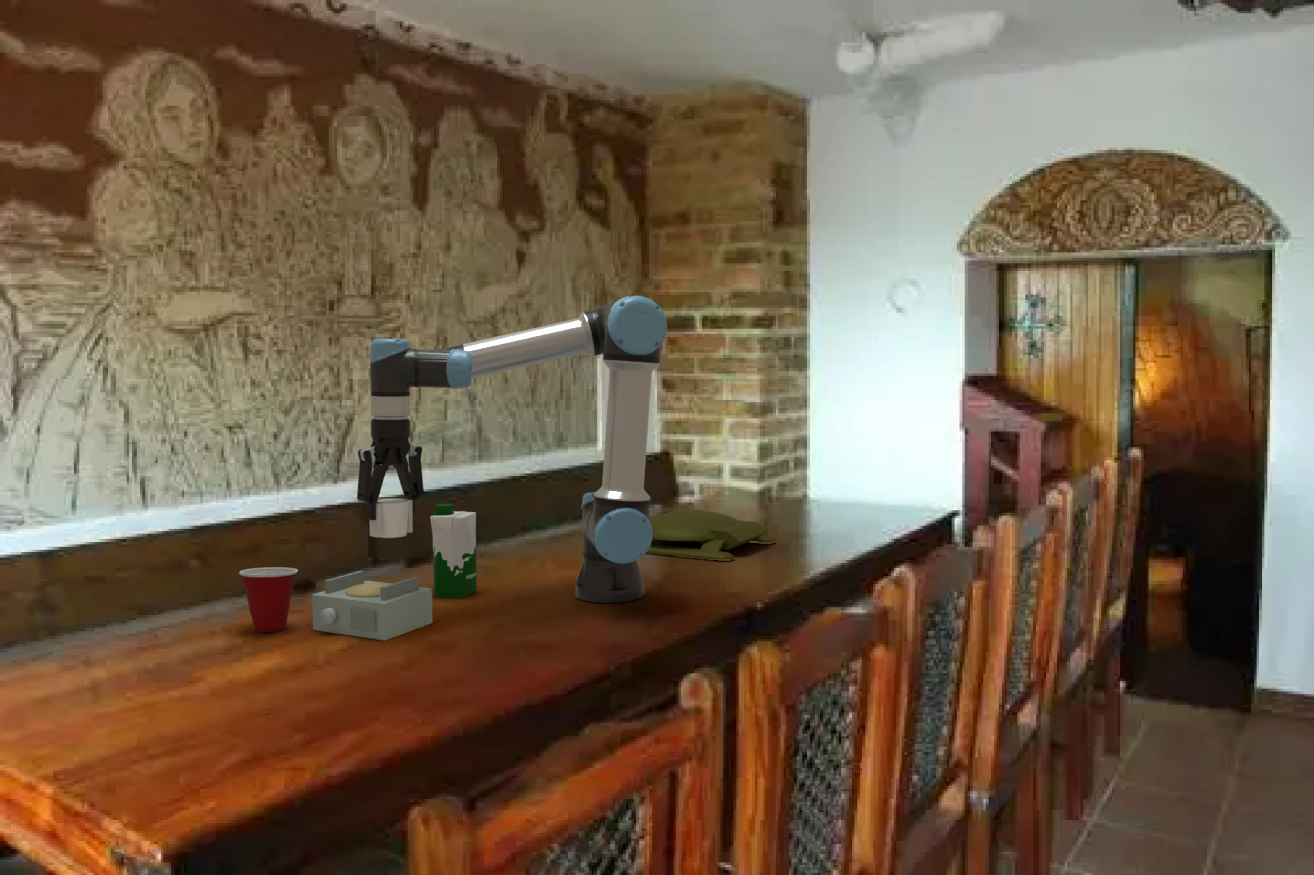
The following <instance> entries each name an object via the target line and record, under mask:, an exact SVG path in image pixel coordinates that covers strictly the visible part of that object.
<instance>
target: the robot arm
mask: <svg viewBox="0 0 1314 875" xmlns="http://www.w3.org/2000/svg"><path fill="white" fill-rule="evenodd" d="M667 331H668V322H667V318H666V314H665V313H664V311H663V310H662V308H661V307H660V306H659V305H658V303H656V302H655V301H654V300H652V299H650V298H648V297H645V296H641V295H628V296H625V297H621V298H619V299H616V300H613V301H612V302H610V303H607V304H605V305H602V306H599V307H598V308H595V309H591V310H587V311H582V312H581V313H580V314H579V316H578V317H577V318H573V319H567V320H564V321H560V322H556V323H550V324H546V325H542V326H537V327H534V328H529V329H525V330H520V331H516V332H511V333H506V334H501V335H498V336H493V337H488V338H484V339H480V340H475V341H472V342H466V343H463V344H458V345H453V346H450V347H444V348H437V349H419V348H417V349H415V348H412V347H411V342H410V340H409V339H406V338H405V339H404V338H376V339H375V338H374V340H373V341H371V343H370V358H369V375H370V377H369V378H370V380H369V381H370V382H369V383H370V416H372V417H373V418H372V419H371V420H370V436H371V439H372V442H371V445H370V447H368V448H366V449H359V450H358V451H357V456H358V459H359V466H358V467H359V469H358V479H357V481H358V482H357V490H356V491H357V494H356V499H357V501H361V502H364V504H366V506H365V507H366V510H365V511H366V519H367V521H369V537H373V538H382V537H381V504H379V503H377V501H378V500H379V499H380V498H379V497H380V493H381V491H382V487H383V484H384V480H385V477H386V473H387V471H389V468H390V467H391V466H392V467H393V468H394V469H395V470H396V474H397V477H398V480H399V483H400V487H401V489H402V492H403V497H404V499H408V500H409V510H408V523H407V534H408V533H409V534H410V533H413V532H414V531H413V529H414V528H413V525H414V524H413V523H414V522H413V518H414V517H413V516H414V515H415V514H416V501H418V499H419V498H420V496H423V495H424V493H425V490H424V489H425V488H424V479H423V470H422V469H423V468H422V459H421V457H422V454H423V453H422V452H423V447H422V446H419V445H411V442H410V440H409V438H410V437H411V420H410V419H409V418H408V417H410V416H411V388H417V389H418V388H435V389H437V388H438V389H439V388H440V389H460V388H469V387H470V386H471V385H472V380H473V379H476V378H481V377H486V376H487V377H488V376H491V375H495V374H499V373H503V372H509V371H513V370H517V369H521V368H526V367H530V366H534V365H538V364H542V363H548V362H551V361H556V360H561V359H565V358H569V357H574V356H579V355H582V354H587V355H589V356H591V357H594V356H601V355H602V356H603V357H602V362H603V363H604V365H606V367H607V368H608V369H609V375H608V376H609V377H608V378H609V379H608V391H607V405H606V406H607V407H606V408H607V409H606V423H605V434H604V435H605V439H604V452H603V467H602V468H603V469H602V479H601V480H602V482H601V486H600V488H599V489H598V490H596V491H595V492H594V491H593V492H586V493H584V494H583V496H582V501H581V502H582V504H581V506H580V507H581V510H582V564H581V566H580V570H579V574H578V578H577V580H576V584H575V597H576V598H577V599H579V600H581V601H585V602H590V603H602V604H603V603H605V604H606V603H607V604H611V603H614V602H616V603H626V602H631V601H636V600H638V599H637V598H639V599H641V598H643V597H644V596H645V583H644V580H643V577H642V576H643V575H642V573H641V571H640V568H639V565H638V560H639V559H641V558H643V557H644V555H645V553H646V552H647V550H648V549H649V547H650V545H651V544H652V541H653V539H652V536H653V535H652V526H651V523H650V521H649V516H650V509H651V496H650V495H649V494H648V493H647V491H646V490H645V489H644V488H645V476H646V475H645V474H646V457H647V446H648V445H647V444H648V430H649V418H650V417H649V416H650V405H651V404H650V401H651V389H652V388H651V386H652V374H653V372H654V371H655V370H656V369H657V368H659V366H660V363H661V354H662V353H661V352H662V351H661V348H662V345H663V343H664V340H665V338H666V336H667ZM407 456H408V458H407ZM373 459H374V461H373ZM643 595H644V596H643ZM642 596H643V597H642ZM635 599H636V600H635ZM614 604H615V603H614Z"/></svg>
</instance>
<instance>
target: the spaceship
mask: <svg viewBox="0 0 1314 875" xmlns="http://www.w3.org/2000/svg"><path fill="white" fill-rule="evenodd" d="M649 521H650V523H651V526H652V535H653V536H652V540H659V541H669V542H670V541H671V542H672V541H673V542H698V543H699V544H700V545H701V547H700V549H699V548H691V547H681V546H671V545H669V546H668V545H660V544H653V543H651V545H650V547H649V549H648V550H647V552H646V553H652V554H651V555H653V554H662V555H678V556H686V557H694V558H705V559H732V560H733V559H734V555H733V554H732V553H730V552H728V551H729V550H732V549H734V548H737V547H739V546H742V545H745V544H749V543H748V542H750V541H758V542H772V541H775V542H776V539H775V538H774V537H773V536H772V535H771V536H770V535H765V534H766V533H768V530H767V529H765V528H764V526H762V525H761V524H760V523H758V522H757V521H753V520H752V521H749V520H738V519H737V518H735V517H732V516H729V515H727V514H725V513H724V514H723V513H721V512H720V513H719V512H716V511H710V510H709V511H708V510H700V509H698V510H697V509H679V510H669V511H665V512H661V513H657V514H654V515H649ZM722 550H726V551H722ZM662 555H661V556H662Z"/></svg>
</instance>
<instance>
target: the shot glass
mask: <svg viewBox="0 0 1314 875" xmlns="http://www.w3.org/2000/svg"><path fill="white" fill-rule="evenodd" d="M377 503H379V504H381V537H380V538H383V539H393V538H401V537H406V536H407V535H408V532H407V523H408V510H409V500H408V499H406V498H400V497H391V498H390V497H388V498H378V501H377Z"/></svg>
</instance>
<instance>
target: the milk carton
mask: <svg viewBox="0 0 1314 875" xmlns="http://www.w3.org/2000/svg"><path fill="white" fill-rule="evenodd" d="M434 507H435V508H434V512H435V513H434V514H432V515H431V516H430V517H429V518H430V523H431V524H430V526H431V532H432V552H433V553H432V556H433V557H432V558H433V560H432V561H433V591H434V592H433V594H434V596H433V597H435V598H453V599H454V598H457V599H465V598H467V597H469V596H470V595H472V594H473V593H475V592H476V591H477V574H478V573H477V571H478V570H477V539H476V538H477V537H476V536H477V535H476V534H477V533H476V532H477V530H476V526H477V512H476V511H475V512H474V511H473V512H472V511H466V510H465V511H464V510H463V511H454V504H453V503H449V502H448V503H437V504H435V505H434Z"/></svg>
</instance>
